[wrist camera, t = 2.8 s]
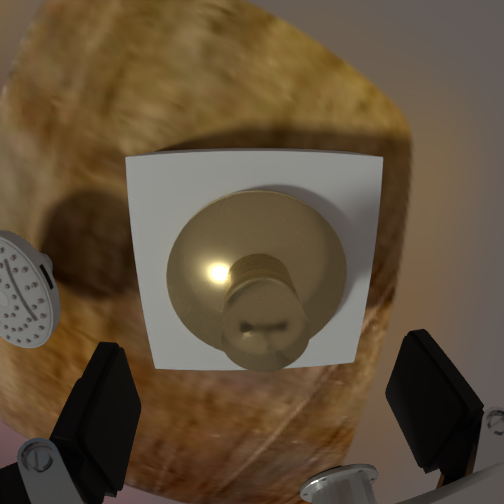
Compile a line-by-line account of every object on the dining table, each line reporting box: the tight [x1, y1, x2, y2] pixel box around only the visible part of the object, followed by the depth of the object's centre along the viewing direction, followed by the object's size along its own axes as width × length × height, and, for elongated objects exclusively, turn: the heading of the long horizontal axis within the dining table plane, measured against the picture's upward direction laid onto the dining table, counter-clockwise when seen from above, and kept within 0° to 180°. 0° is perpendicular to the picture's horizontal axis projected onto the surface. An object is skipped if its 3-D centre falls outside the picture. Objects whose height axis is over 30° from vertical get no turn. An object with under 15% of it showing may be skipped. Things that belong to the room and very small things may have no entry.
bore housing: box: [126, 148, 383, 370], centre depth 21 cm, size 14×14×6 cm
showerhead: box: [0, 230, 61, 348], centre depth 20 cm, size 9×7×10 cm
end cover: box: [166, 189, 347, 372], centre depth 17 cm, size 10×10×10 cm
